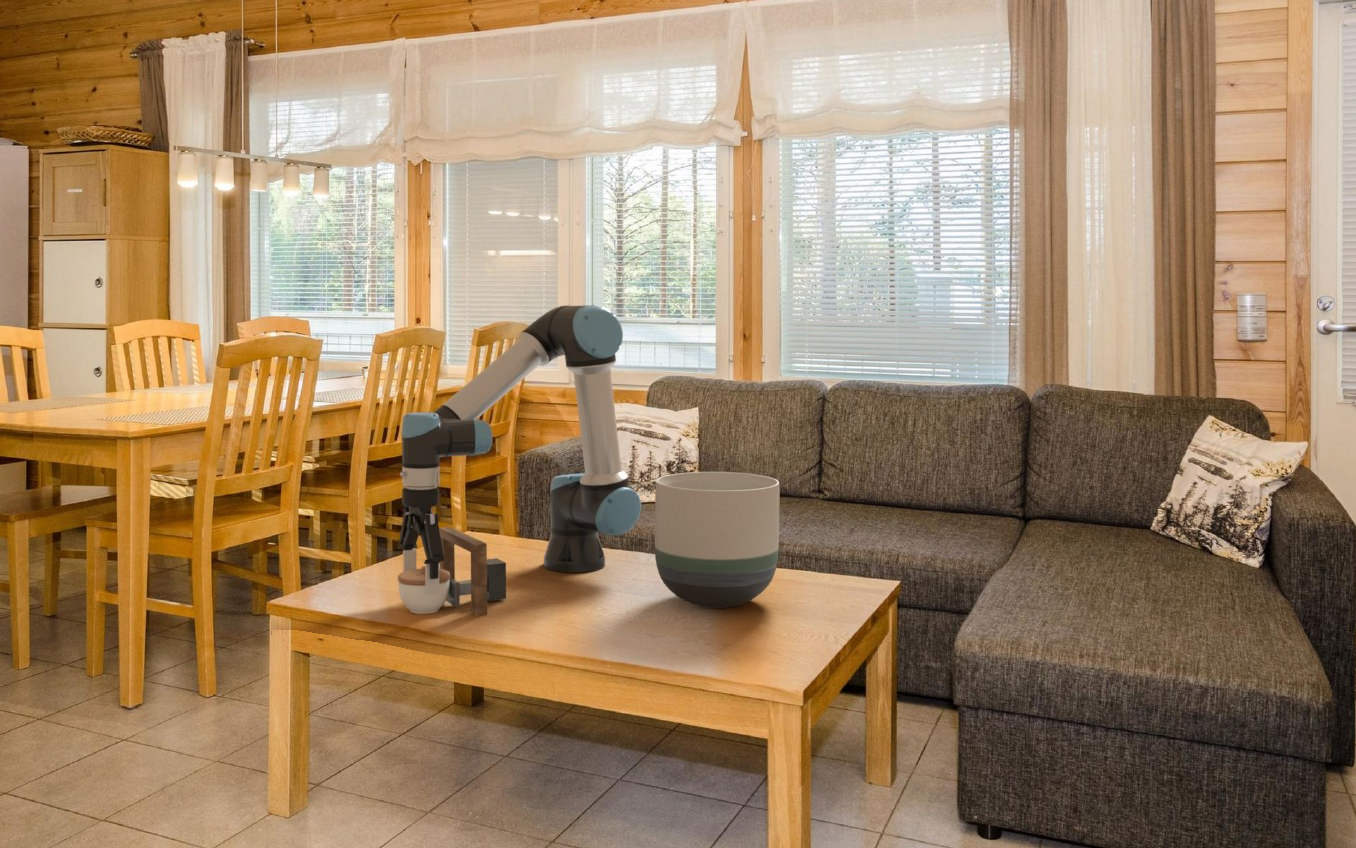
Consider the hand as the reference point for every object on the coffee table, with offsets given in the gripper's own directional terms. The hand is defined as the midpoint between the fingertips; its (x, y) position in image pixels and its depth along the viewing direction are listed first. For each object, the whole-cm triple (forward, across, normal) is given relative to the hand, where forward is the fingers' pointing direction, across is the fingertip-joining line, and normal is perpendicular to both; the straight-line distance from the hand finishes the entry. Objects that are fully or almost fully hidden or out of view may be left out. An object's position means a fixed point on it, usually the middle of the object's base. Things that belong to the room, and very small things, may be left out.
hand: (420, 586), depth 228 cm
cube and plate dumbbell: (+4, 0, +12) cm, 13 cm away
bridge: (+5, 0, +9) cm, 11 cm away
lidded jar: (+5, 0, +1) cm, 5 cm away
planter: (+4, +28, +57) cm, 63 cm away
